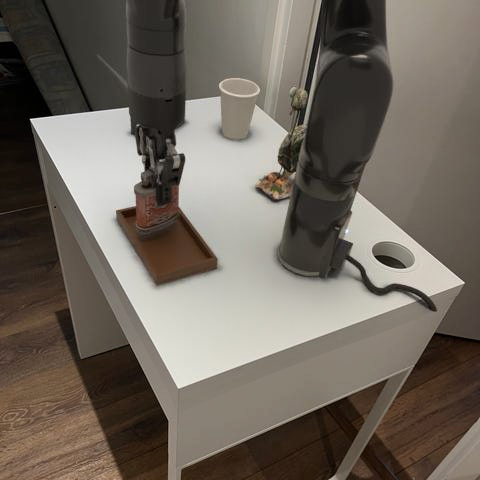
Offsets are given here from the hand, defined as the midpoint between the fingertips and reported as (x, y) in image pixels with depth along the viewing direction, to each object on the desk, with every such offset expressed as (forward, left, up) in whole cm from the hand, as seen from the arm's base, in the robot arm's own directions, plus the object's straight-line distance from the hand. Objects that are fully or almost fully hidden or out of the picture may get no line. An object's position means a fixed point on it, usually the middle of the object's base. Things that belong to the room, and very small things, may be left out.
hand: (158, 194), depth 77 cm
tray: (-2, +1, -8) cm, 8 cm away
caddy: (+20, -30, -8) cm, 37 cm away
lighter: (0, 0, -5) cm, 5 cm away
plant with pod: (-11, -26, -8) cm, 29 cm away
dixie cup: (+6, -39, -8) cm, 40 cm away
